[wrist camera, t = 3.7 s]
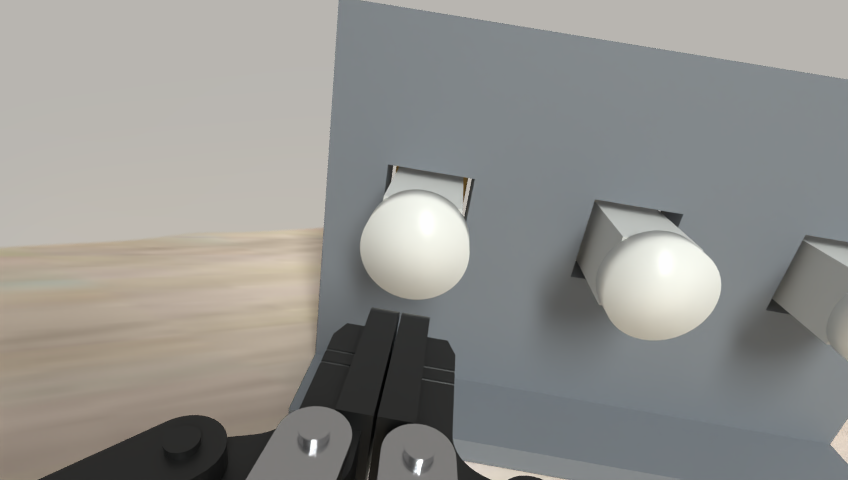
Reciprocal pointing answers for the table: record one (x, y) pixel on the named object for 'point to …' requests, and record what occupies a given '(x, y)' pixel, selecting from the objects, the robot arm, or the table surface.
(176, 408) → the table surface
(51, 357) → the table surface
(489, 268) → the button panel
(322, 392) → the robot arm
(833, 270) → the button
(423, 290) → the button
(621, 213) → the middle button
